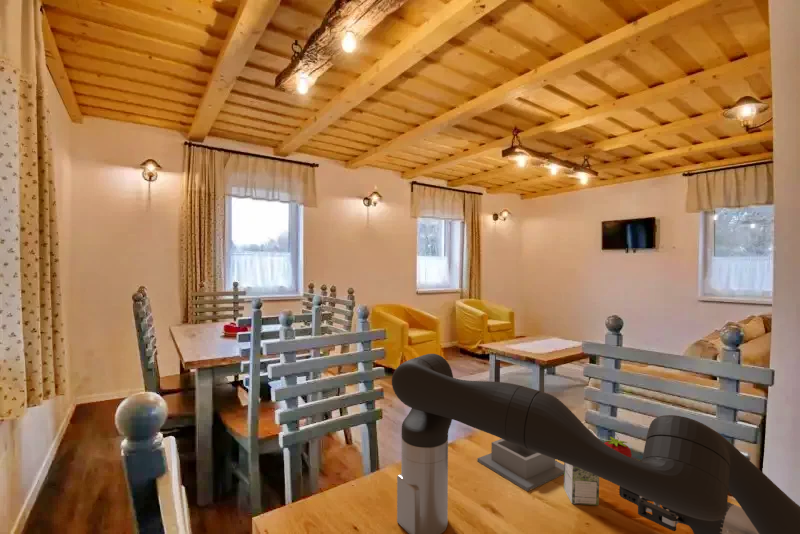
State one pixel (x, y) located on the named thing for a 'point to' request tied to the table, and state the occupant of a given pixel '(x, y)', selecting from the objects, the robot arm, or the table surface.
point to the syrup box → (581, 485)
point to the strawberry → (619, 446)
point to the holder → (521, 465)
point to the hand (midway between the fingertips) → (632, 483)
